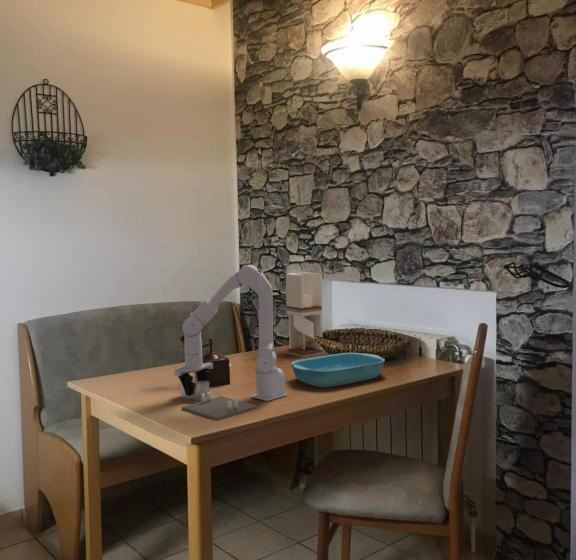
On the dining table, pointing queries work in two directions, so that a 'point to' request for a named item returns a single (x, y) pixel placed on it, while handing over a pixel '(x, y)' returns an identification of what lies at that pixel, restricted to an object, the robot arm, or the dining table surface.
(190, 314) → the robot arm
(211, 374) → the brown wooden grinder
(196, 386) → the block
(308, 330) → the cream table lamp
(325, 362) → the casserole dish
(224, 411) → the dock
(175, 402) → the dining table surface
